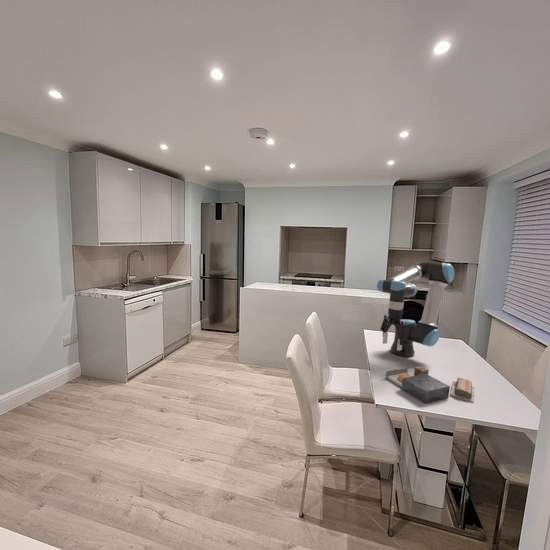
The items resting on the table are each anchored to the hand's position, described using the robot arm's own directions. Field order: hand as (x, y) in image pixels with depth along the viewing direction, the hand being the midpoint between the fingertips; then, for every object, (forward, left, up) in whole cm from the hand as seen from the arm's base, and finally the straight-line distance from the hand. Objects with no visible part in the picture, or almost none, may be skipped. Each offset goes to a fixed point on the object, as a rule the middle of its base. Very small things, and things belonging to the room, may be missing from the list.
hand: (391, 346), depth 169 cm
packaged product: (+30, +21, -16) cm, 40 cm away
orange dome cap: (+12, 0, -14) cm, 19 cm away
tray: (+12, 0, -16) cm, 20 cm away
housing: (+24, 0, -16) cm, 29 cm away
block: (+10, +14, -16) cm, 23 cm away
